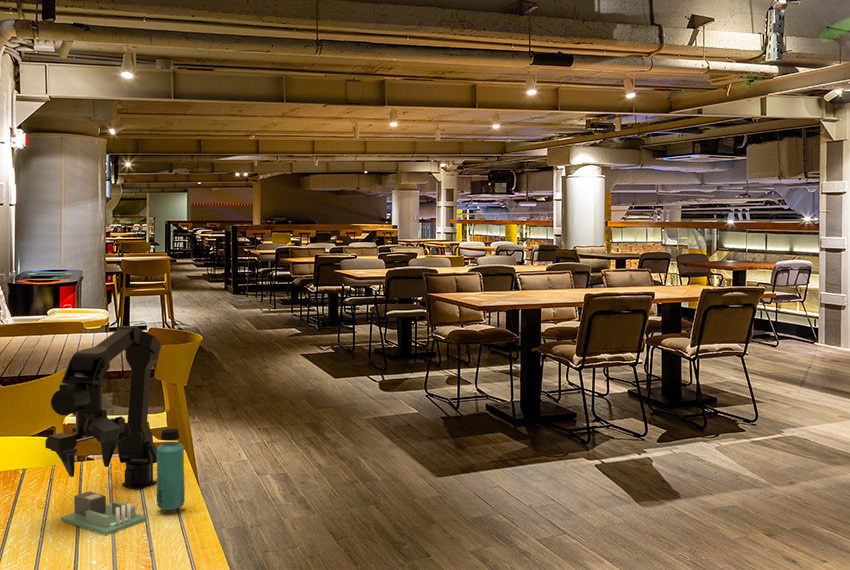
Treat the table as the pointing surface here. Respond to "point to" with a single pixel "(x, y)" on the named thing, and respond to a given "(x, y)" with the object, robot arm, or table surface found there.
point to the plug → (89, 503)
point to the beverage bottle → (170, 471)
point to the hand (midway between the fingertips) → (89, 471)
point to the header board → (106, 518)
